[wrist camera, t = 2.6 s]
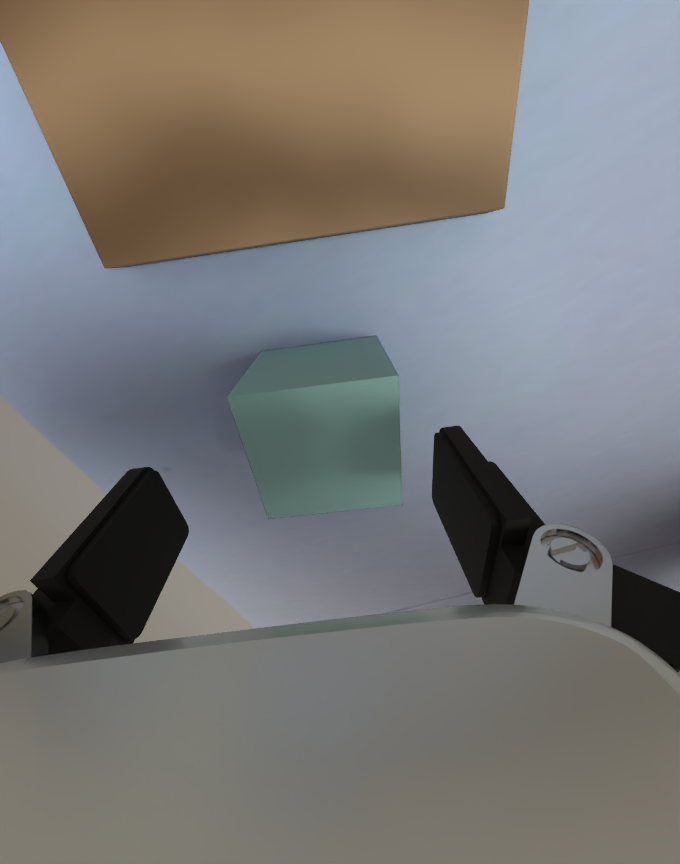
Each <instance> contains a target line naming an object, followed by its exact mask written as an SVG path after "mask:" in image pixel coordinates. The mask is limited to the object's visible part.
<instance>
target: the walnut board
mask: <svg viewBox="0 0 680 864" xmlns="http://www.w3.org/2000/svg"><path fill="white" fill-rule="evenodd" d="M528 6H529V0H0V41H1V43H2V46H3V48H4V50H5V52H6V54H7V57H8V59H9V61H10V63H11V65H12V67H13V70H14V72H15V74H16V76H17V78H18V80H19V83H20V85H21V87H22V89H23V91H24V94H25V96H26V98H27V100H28V102H29V104H30V107H31V109H32V111H33V113H34V115H35V118H36V120H37V122H38V124H39V126H40V128H41V131H42V133H43V135H44V137H45V139H46V141H47V144H48V146H49V148H50V150H51V152H52V155H53V157H54V159H55V161H56V163H57V165H58V168H59V170H60V172H61V174H62V176H63V179H64V181H65V183H66V185H67V187H68V189H69V192H70V194H71V196H72V198H73V200H74V202H75V205H76V207H77V209H78V211H79V213H80V216H81V218H82V220H83V222H84V224H85V226H86V229H87V231H88V233H89V235H90V237H91V240H92V242H93V244H94V246H95V248H96V250H97V253H98V255H99V257H100V259H101V261H102V264H103V266H104V268H118V267H130V266H137V265H143V264H150V263H157V262H163V261H170V260H177V259H183V258H190V257H197V256H203V255H210V254H217V253H223V252H230V251H237V250H243V249H250V248H257V247H263V246H270V245H277V244H283V243H290V242H297V241H303V240H310V239H317V238H323V237H330V236H337V235H343V234H350V233H357V232H363V231H370V230H377V229H383V228H390V227H397V226H403V225H410V224H417V223H423V222H430V221H437V220H443V219H450V218H457V217H463V216H470V215H477V214H483V213H489V212H492V211H496V210H499V209H503V208H504V206H505V197H506V189H507V181H508V172H509V164H510V156H511V148H512V139H513V131H514V123H515V114H516V106H517V98H518V89H519V81H520V73H521V65H522V56H523V48H524V40H525V31H526V23H527V15H528Z"/></svg>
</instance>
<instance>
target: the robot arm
mask: <svg viewBox="0 0 680 864" xmlns="http://www.w3.org/2000/svg"><path fill="white" fill-rule="evenodd" d="M432 499H433V503H434V505H435V508H436V510H437V512H438V515H439V517H440V519H441V521H442V524H443V526H444V528H445V530H446V533H447V535H448V537H449V539H450V542H451V544H452V546H453V549H454V551H455V553H456V555H457V558H458V560H459V562H460V564H461V567H462V569H463V571H464V573H465V576H466V578H467V580H468V583H469V585H470V587H471V589H472V592H473V594H474V595H475V597H477V598H478V597H481V598H482V600H483V602H484V604H485V605H470V606H456V607H446V608H435V609H425V610H415V611H404V612H395V613H386V614H377V615H368V616H360V617H351V618H342V619H333V620H325V621H316V622H307V623H299V624H290V625H282V626H273V627H265V628H256V629H249V630H240V631H231V632H223V633H215V634H207V635H199V636H190V637H182V638H174V639H166V640H158V641H150V642H142V643H134V644H133V642H134V640H135V639H136V638H137V637H139V635H140V634H141V633H142V631H143V629H144V627H145V625H146V622H147V620H148V618H149V616H150V614H151V612H152V610H153V608H154V606H155V604H156V602H157V599H158V597H159V595H160V593H161V591H162V589H163V587H164V585H165V583H166V580H167V578H168V576H169V574H170V572H171V570H172V568H173V566H174V564H175V562H176V560H177V557H178V555H179V553H180V551H181V549H182V547H183V545H184V543H185V541H186V539H187V536H188V533H189V528H188V525H187V523H186V521H185V519H184V517H183V515H182V514H181V512H180V510H179V508H178V506H177V505H176V503H175V501H174V499H173V497H172V496H171V494H170V492H169V490H168V488H167V487H166V485H165V483H164V481H163V479H162V478H161V476H160V474H159V473H158V472H157V471H155V470H153V469H152V468H151V467H144V468H137V469H131V470H129V471H128V472H127V473H126V474H125V475H124V476H123V477H122V478H121V479H120V480H119V482H118V483H117V484H116V485H115V486H114V487H113V488H112V489H111V491H110V492H109V493H108V494H107V495H106V496H105V497H104V498H103V499H102V501H101V502H100V503H99V504H98V505H97V506H96V507H95V509H94V510H93V511H92V512H91V513H90V514H89V515H88V516H87V517H86V519H85V520H84V521H83V522H82V523H81V524H80V525H79V526H78V527H77V529H76V530H75V531H74V532H73V533H72V534H71V535H70V536H69V538H68V539H67V540H66V541H65V542H64V543H63V544H62V545H61V547H60V548H59V549H58V550H57V551H56V552H55V553H54V554H53V556H52V557H51V558H50V559H49V560H48V561H47V562H46V563H45V564H44V566H43V567H42V568H41V569H40V570H39V571H38V572H37V573H36V575H35V576H34V577H33V578H32V579H31V580H30V581H31V582H32V583H33V584H34V585H35V586H36V587H37V588H38V589H37V590H36V591H35V593H34V594H33V595H32V594H31V593H30V592H28V591H26V590H18V591H14V592H11V593H7V594H5V595H3V596H1V597H0V864H680V592H678V591H675V590H673V589H671V588H668V587H666V586H663V585H661V584H659V583H656V582H654V581H651V580H649V579H647V578H644V577H642V576H639V575H637V574H635V573H632V572H630V571H627V570H625V569H623V568H620V567H618V566H615V565H613V563H612V559H611V555H610V554H609V552H608V551H607V549H606V548H605V546H603V545H602V544H601V543H600V542H599V541H598V540H597V539H596V538H594V537H593V536H591V535H589V534H588V533H586V532H584V531H582V530H580V529H577V528H575V527H572V526H567V525H563V524H548V525H545V524H544V523H543V521H542V520H541V519H540V518H539V517H538V515H537V514H536V513H535V512H534V510H533V509H532V508H531V507H530V506H529V504H528V503H527V502H526V501H525V499H524V498H523V497H522V496H521V495H520V493H519V492H518V491H517V490H516V488H515V487H514V486H513V485H512V483H511V482H510V481H509V480H508V479H507V477H506V476H505V475H504V474H503V472H502V471H501V470H500V469H499V468H498V466H497V465H496V464H495V463H493V462H488V461H487V460H486V459H485V457H484V456H483V455H482V454H481V452H480V451H479V450H478V448H477V447H476V446H475V445H474V443H473V442H472V441H471V440H470V438H469V437H468V436H467V435H466V433H465V432H464V431H463V429H462V428H461V427H460V426H452V427H445V428H441V429H440V433H435V436H434V456H433V480H432Z"/></svg>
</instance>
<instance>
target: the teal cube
mask: <svg viewBox="0 0 680 864" xmlns="http://www.w3.org/2000/svg"><path fill="white" fill-rule="evenodd" d="M227 400H228V403H229V406H230V409H231V412H232V414H233V417H234V420H235V423H236V426H237V429H238V432H239V435H240V438H241V441H242V444H243V447H244V449H245V452H246V455H247V458H248V461H249V464H250V467H251V470H252V473H253V476H254V479H255V482H256V485H257V487H258V490H259V493H260V496H261V499H262V502H263V505H264V508H265V511H266V514H267V517H268V519H274V518H284V517H293V516H302V515H312V514H321V513H331V512H340V511H349V510H359V509H368V508H377V507H387V506H396V505H402V484H401V450H400V415H399V381H398V374H397V372H396V370H395V368H394V367H393V365H392V363H391V361H390V359H389V357H388V356H387V354H386V352H385V350H384V348H383V347H382V345H381V343H380V341H379V339H378V337H377V336H371V337H363V338H356V339H348V340H341V341H333V342H326V343H318V344H311V345H303V346H296V347H288V348H280V349H273V350H265V351H261V352H260V353H259V355H258V356H257V357H256V359H255V360H254V361H253V363H252V364H251V365H250V367H249V368H248V369H247V371H246V372H245V373H244V375H243V376H242V377H241V379H240V380H239V381H238V383H237V384H236V385H235V387H234V388H233V389H232V391H231V392H230V393H229V394H228V396H227Z"/></svg>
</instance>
